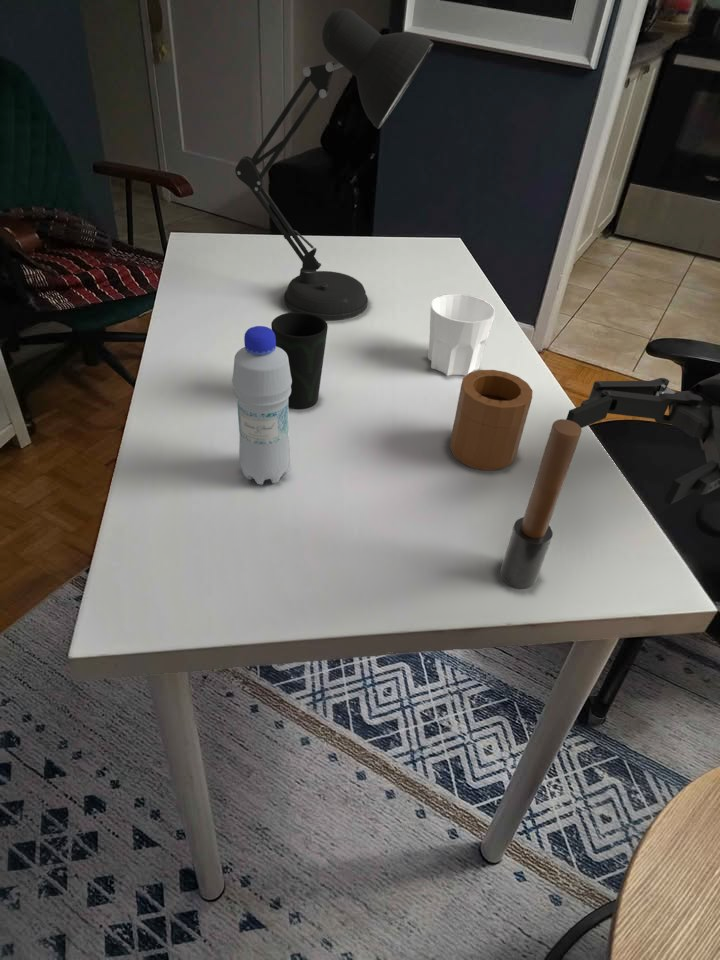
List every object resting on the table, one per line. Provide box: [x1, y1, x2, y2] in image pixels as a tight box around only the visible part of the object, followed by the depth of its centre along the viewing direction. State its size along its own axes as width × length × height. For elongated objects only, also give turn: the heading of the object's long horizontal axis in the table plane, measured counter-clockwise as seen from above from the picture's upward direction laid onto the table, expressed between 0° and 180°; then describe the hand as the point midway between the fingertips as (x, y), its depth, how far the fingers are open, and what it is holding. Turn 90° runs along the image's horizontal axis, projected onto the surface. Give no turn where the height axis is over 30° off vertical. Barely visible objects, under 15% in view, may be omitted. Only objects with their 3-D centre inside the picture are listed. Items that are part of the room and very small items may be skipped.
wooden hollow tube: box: [449, 369, 533, 471], centre depth 86 cm, size 9×9×10 cm
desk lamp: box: [234, 7, 434, 321], centre depth 107 cm, size 24×26×45 cm
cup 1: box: [270, 311, 329, 410], centre depth 92 cm, size 8×8×12 cm
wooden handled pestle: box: [499, 418, 583, 590], centre depth 65 cm, size 4×4×20 cm
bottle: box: [231, 325, 292, 485], centre depth 76 cm, size 7×7×20 cm
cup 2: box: [427, 293, 496, 377], centre depth 104 cm, size 10×10×10 cm
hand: (616, 455), depth 68 cm, fingers open, 13 cm apart
